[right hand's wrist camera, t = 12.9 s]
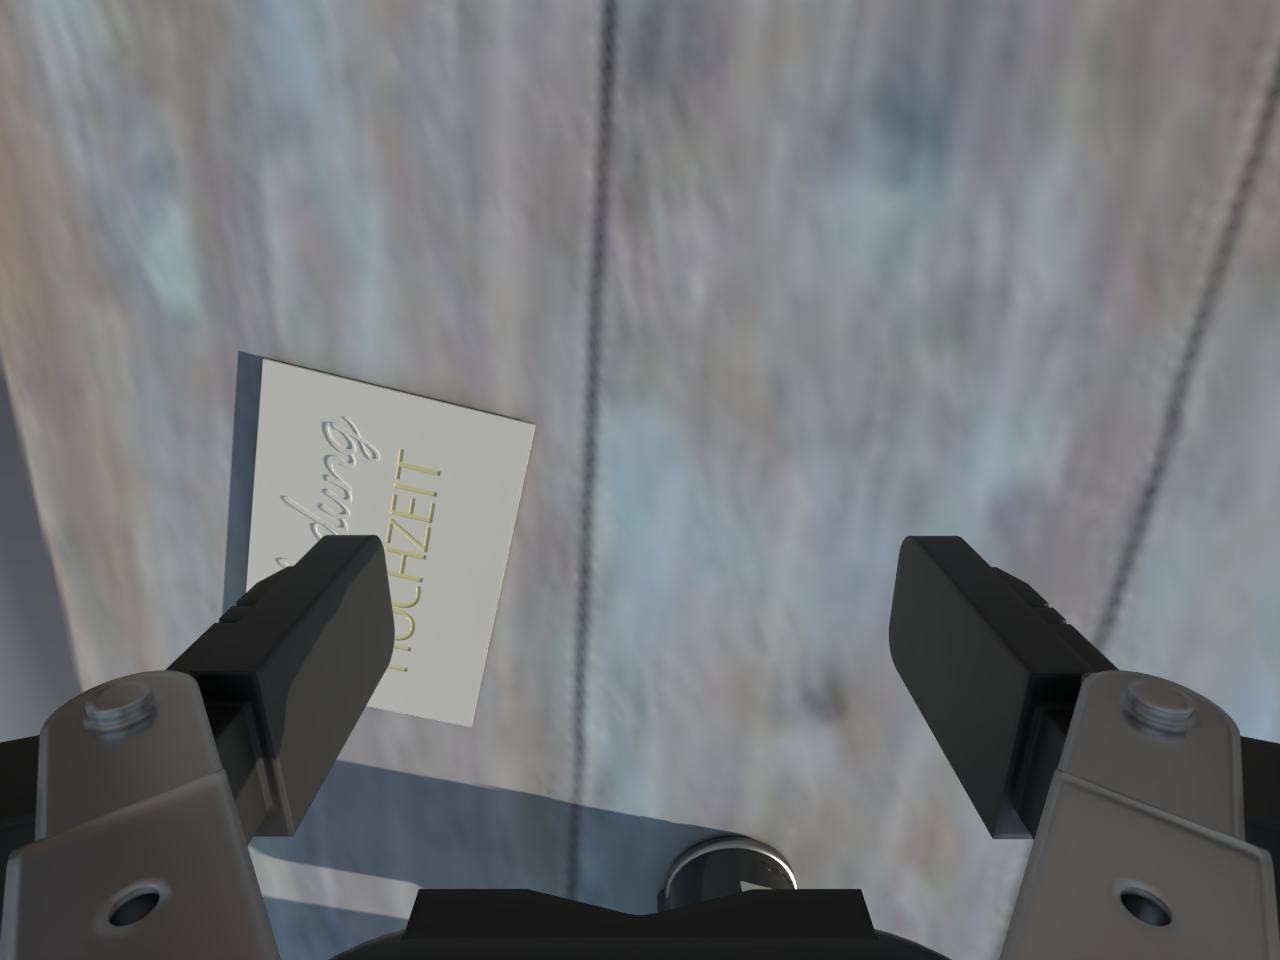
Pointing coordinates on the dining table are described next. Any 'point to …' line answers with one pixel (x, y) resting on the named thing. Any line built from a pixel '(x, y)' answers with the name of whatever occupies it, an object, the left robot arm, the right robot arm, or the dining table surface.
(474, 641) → the invitation card
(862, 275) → the dining table surface
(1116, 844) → the right robot arm
